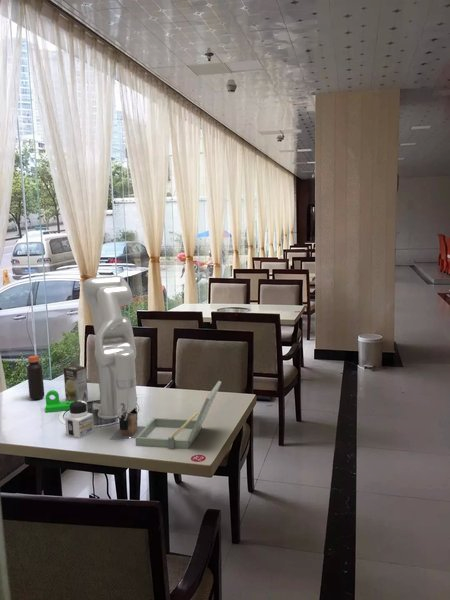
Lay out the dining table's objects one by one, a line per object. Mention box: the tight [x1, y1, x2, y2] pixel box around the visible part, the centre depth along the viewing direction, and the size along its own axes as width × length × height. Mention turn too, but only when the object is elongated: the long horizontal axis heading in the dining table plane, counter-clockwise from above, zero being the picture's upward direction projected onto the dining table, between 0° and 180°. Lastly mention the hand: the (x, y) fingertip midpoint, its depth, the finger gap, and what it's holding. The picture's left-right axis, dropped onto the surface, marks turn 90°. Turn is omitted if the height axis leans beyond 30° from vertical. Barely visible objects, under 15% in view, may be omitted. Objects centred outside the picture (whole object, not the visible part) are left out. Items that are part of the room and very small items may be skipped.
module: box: [121, 413, 138, 436], centre depth 206 cm, size 5×5×8 cm
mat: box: [108, 425, 146, 441], centre depth 206 cm, size 11×14×1 cm
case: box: [134, 380, 222, 450], centre depth 199 cm, size 29×21×20 cm
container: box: [64, 401, 95, 439], centre depth 207 cm, size 8×8×13 cm
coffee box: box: [63, 364, 89, 402], centre depth 246 cm, size 9×6×16 cm
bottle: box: [26, 355, 45, 400], centre depth 253 cm, size 7×7×20 cm
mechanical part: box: [44, 389, 74, 413], centre depth 237 cm, size 12×6×8 cm, turn 102°
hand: (128, 424), depth 206 cm, fingers open, 9 cm apart
